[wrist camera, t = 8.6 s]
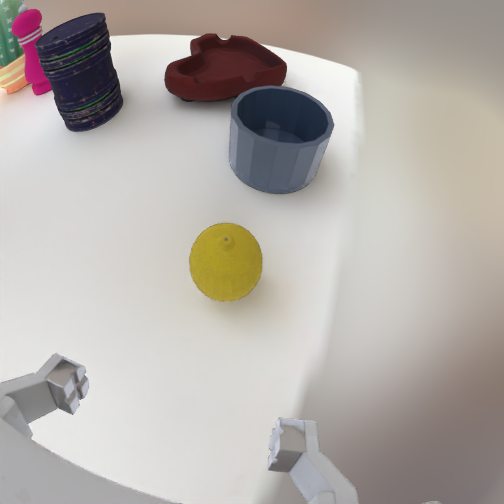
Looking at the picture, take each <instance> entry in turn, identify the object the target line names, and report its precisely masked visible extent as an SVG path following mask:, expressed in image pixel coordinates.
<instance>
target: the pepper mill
mask: <svg viewBox="0 0 504 504" xmlns="http://www.w3.org/2000/svg"><path fill="white" fill-rule="evenodd" d="M18 12H19V13H20V15H19V16H17V17H16V19H15V20H14V21H13V24H12V33H13V34H14V35H15V36H17V37H19V39H18V41H19V45H22V47H23V49H24V53H25V69H24V73H25V78H26V81H27V82H28V83H31V84H33V85H32V89H33V92H34V94H35V95H41V94H44V93H46V92H48V91H50V90H51V89H52V87H51V85H50V82H49V80H48V79H47V78H46V77H45V75H44V73H43V72H44V71H43V69H42V68H41V65H40V62H39V57H38V51H36V48H35V43H36V41H37V40H38V39H39V38H40V37H42V32H43V30H42V27H41V26H39V25H40V23H41V20H42V15H41V13H40V11H39V10H37V9H30V10H27V6H26V5H22V6H21V7H20V8H19V10H18Z"/></svg>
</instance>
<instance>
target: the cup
mask: <svg viewBox="0 0 504 504" xmlns="http://www.w3.org/2000/svg"><path fill="white" fill-rule="evenodd" d="M333 128H334V122H333V119H332V116H331V113H330V112H329V111H328V110H327V108H326V107H325V106H324V105H323V104H322V103H321V102H320V101H319V100H317V99H315V98H314V97H312V96H310V95H309V94H307V93H305V92H302V91H299V90H296V89H292V88H288V87H281V86H262V87H255V88H252V89H249V90H247V91H245V92H243V93H241V94H240V95H239V96H238V97H237V98H236V99H235V100H234V101H233V103H232V107H231V124H230V146H229V161H230V165H231V168H232V170H233V171H234V173H235V174H236V175H237V177H238V178H239V179H240V180H242V181H243V182H244V183H246V184H247V185H249V186H251V187H253V188H255V189H257V190H260V191H263V192H268V193H275V194H283V193H291V192H295V191H298V190H300V189H302V188H304V187H305V186H307V185H308V184H309V183H310V182H311V181H312V179H313V178H314V176H315V174H316V172H317V169H318V167H319V164H320V162H321V159H322V157H323V154H324V152H325V149H326V147H327V144H328V142H329V139H330V136H331V134H332V131H333Z"/></svg>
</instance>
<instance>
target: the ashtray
mask: <svg viewBox="0 0 504 504" xmlns="http://www.w3.org/2000/svg"><path fill="white" fill-rule="evenodd" d="M190 49H191V55H192V56H189V57H186V58H183V59H180V60H177V61H174V62H172V63H170V64H169V65H168V66H167V69H166V72H165V79H164V80H165V86H166V88H167V89H168V91H169V92H170V93H172V94H174V95H176V96H178V97H180V98H181V99H182V100H184V101H195V100H197V101H215V100H222V99H226V98H230V97H233V96H239V95H240V94H241V93H243V92H245V91H247V90H249V89H252V88H255V87H262V86H281V84H282V83H283V82H284V79H285V77H286V72H287V65H286V63H285V62H284V61H283V60H282V59H281V58H280V57H278V56H277V55H276V54H274V53H273V52H271V51H270V50H268V49H267V48H265V47H263V46H262V45H260V44H258V43H257V42H255V41H253V40H252V39H250V38H248V37H243V36H233V35H231V38H230V39H228V40H222V39H220V38H219V37H218V36H217V34H205V35H203V36H201V37H199V38H196V39H193V40H191V43H190Z"/></svg>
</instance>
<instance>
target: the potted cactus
mask: <svg viewBox="0 0 504 504" xmlns="http://www.w3.org/2000/svg"><path fill="white" fill-rule="evenodd" d="M23 1H24V0H0V87H1V88H4V89H7V93H8V94H9V93H14V92H16V91H18V90H20V89H21V88H23V87H24V86H26V85H27V84H29V83H28V82H27V81H26V78H25V73H24V69H25V53H24V49H23V47H22V45H19V41H18V39H19V37H17V36H15V35H14V34H13V33H12V24H13V21H14V20H15V19H16V17H17V16H19V15H20V13H19V12H18V10H19V8H20V7H21V6H22V5H23Z"/></svg>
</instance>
